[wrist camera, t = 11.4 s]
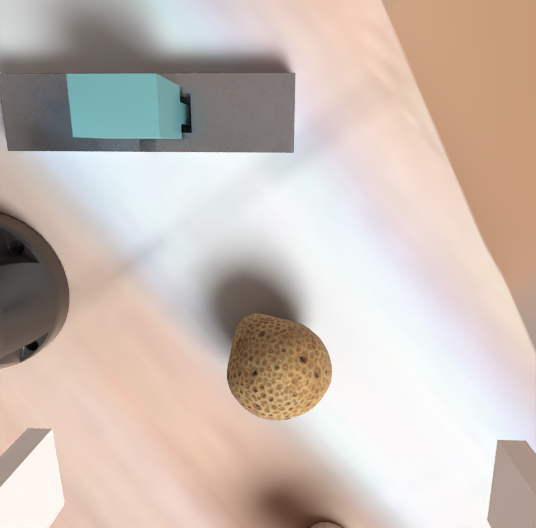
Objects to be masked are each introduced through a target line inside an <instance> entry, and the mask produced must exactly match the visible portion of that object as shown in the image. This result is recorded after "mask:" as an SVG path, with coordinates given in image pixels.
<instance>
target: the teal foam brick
mask: <svg viewBox="0 0 536 528" xmlns="http://www.w3.org/2000/svg"><path fill="white" fill-rule="evenodd" d="M66 76H67V86H68V95H69V104H70V114H71V123H72V133H73V137H83V138H106V139H182V132H181V125H190V120H189V105H186V104H184V103H181V102H180V87H179V85H177V84H175V83H173V82H171V81H169V80H168V79H166V78H164V77H162V76H160V75H158V74H156V73H116V74H66Z"/></svg>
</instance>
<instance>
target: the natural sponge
mask: <svg viewBox="0 0 536 528" xmlns="http://www.w3.org/2000/svg"><path fill="white" fill-rule="evenodd" d="M331 376H332V367H331V361H330V357H329V354H328V351H327V349H326V347H325V346H324V344H323V342H322V341H321V339H320V338H319V337H318V336H317V335H316V334H315V333H313V332H312V331H311V330H310V329H308V328H307V327H306V326H304V325H302V324H300V323H297V322H294V321H290V320H287V319H282V318H278V317H274V316H270V315H266V314H259V313H256V314H249V315H247V316H245V317H244V318H243V319H242V320H241V321H240V323H239V324H238V326H237V329H236V331H235V335H234V339H233V344H232V348H231V353H230V358H229V362H228V368H227V380H228V384H229V388H230V390H231V392H232V394H233V395H234V397H235V398H236V399H237V401H238V402H239V403H240V404H241V405H242V406H243V407H244V408H245V409H246V410H248V411H249V412H251V413H252V414H254V415H256V416H258V417H262V418H266V419H270V420H287V419H290V418H293V417H296V416H299V415H301V414H303V413H305V412H307V411H309V410H310V409H312V408H313V407H314V406H315V405H316V404H317V403H318V402H319V401H320V400H321V398H322V397H323V396H324V394H325V393H326V391H327V389H328V387H329V385H330V382H331Z"/></svg>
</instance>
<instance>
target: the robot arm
mask: <svg viewBox="0 0 536 528" xmlns="http://www.w3.org/2000/svg"><path fill="white" fill-rule="evenodd" d="M68 307H69V288H68V283H67V278H66V275H65V272H64V270H63V267H62V265H61V263H60V261H59V259H58V257H57V256H56V254H55V253H54V251H53V250H52V248H51V247H50V246H49V245H48V243H47V242H46V241H45V240H44V239H43V238H42V237H41V236H40V235H39V234H38V233H36V232H35V231H34V230H33V229H31V228H30V227H28V226H27V225H25V224H24V223H22V222H20V221H18V220H16V219H14V218H12V217H10V216H7V215H4V214H0V369H2V368H5V367H9V366H13V365H16V364H19V363H21V362H23V361H25V360H27V359H29V358H31V357H32V356H34V355H35V354H37V353H38V352H39V351H41V350H42V349H43V348H44V347H46V346H47V345H48V344H49V343H50V342H51V341H52V340H53V339H54V338H55V337H56V336H57V335H58V333H59V332H60V330H61V328H62V327H63V325H64V322H65V320H66V317H67V313H68ZM64 504H65V502H64V497H63V491H62V485H61V479H60V473H59V467H58V461H57V455H56V449H55V443H54V438H53V432H52V429H34V428H28V429H27V430H26V431H25V432H24V433H23V434H22V435H21V436H20V437H19V438H18V439H17V440H16V441H15V442H14V443H13V444H12V445H11V446H10V447H9V448H8V449H7V450H6V451H5V453H4V454H3V455H2V456H1V457H0V528H49V527H50V525H51V524H52V522H53V521H54V519H55V518H56V516H57V515H58V513H59V512H60V510H61V509H62V507H63V506H64ZM487 520H488V522H489V524H490V526H491V528H536V453H535V452H534V451H533V450H532V448H531V447H530V446H529V444H528V443H527V442H526V441H513V440H498V441H497V449H496V456H495V464H494V472H493V480H492V488H491V495H490V503H489V511H488V519H487Z"/></svg>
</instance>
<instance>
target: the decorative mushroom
mask: <svg viewBox="0 0 536 528" xmlns="http://www.w3.org/2000/svg"><path fill="white" fill-rule="evenodd" d="M311 528H342V527H340V526H338V525H336V524H334V523H329V522H319V523H317V524H314V525H313V526H312V527H311Z"/></svg>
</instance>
